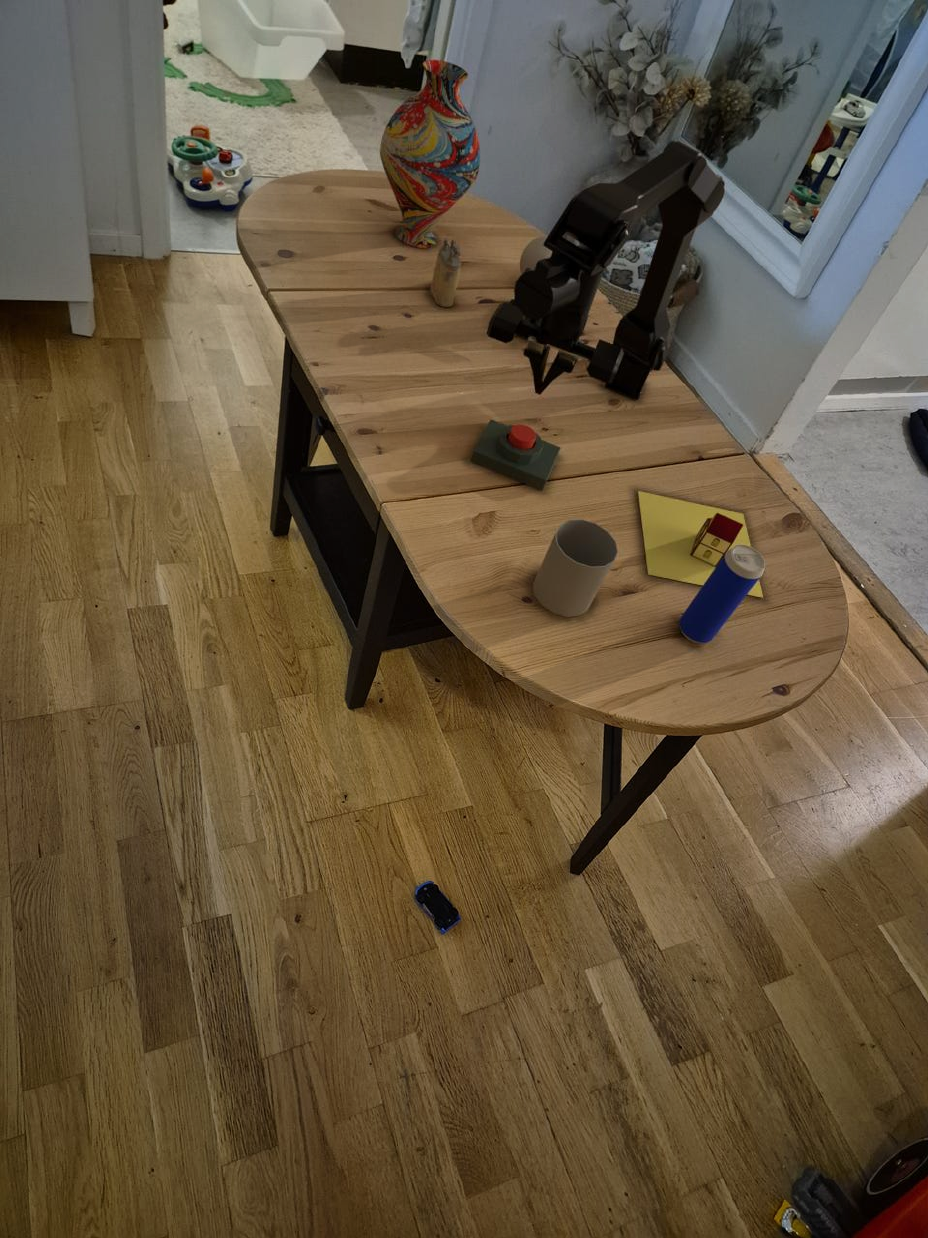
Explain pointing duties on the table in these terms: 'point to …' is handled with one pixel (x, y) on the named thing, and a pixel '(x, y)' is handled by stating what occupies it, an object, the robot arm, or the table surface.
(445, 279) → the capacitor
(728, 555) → the beverage can
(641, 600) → the table surface
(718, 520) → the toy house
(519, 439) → the button
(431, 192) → the vase
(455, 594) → the table surface
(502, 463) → the button box
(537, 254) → the ball
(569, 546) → the cup
